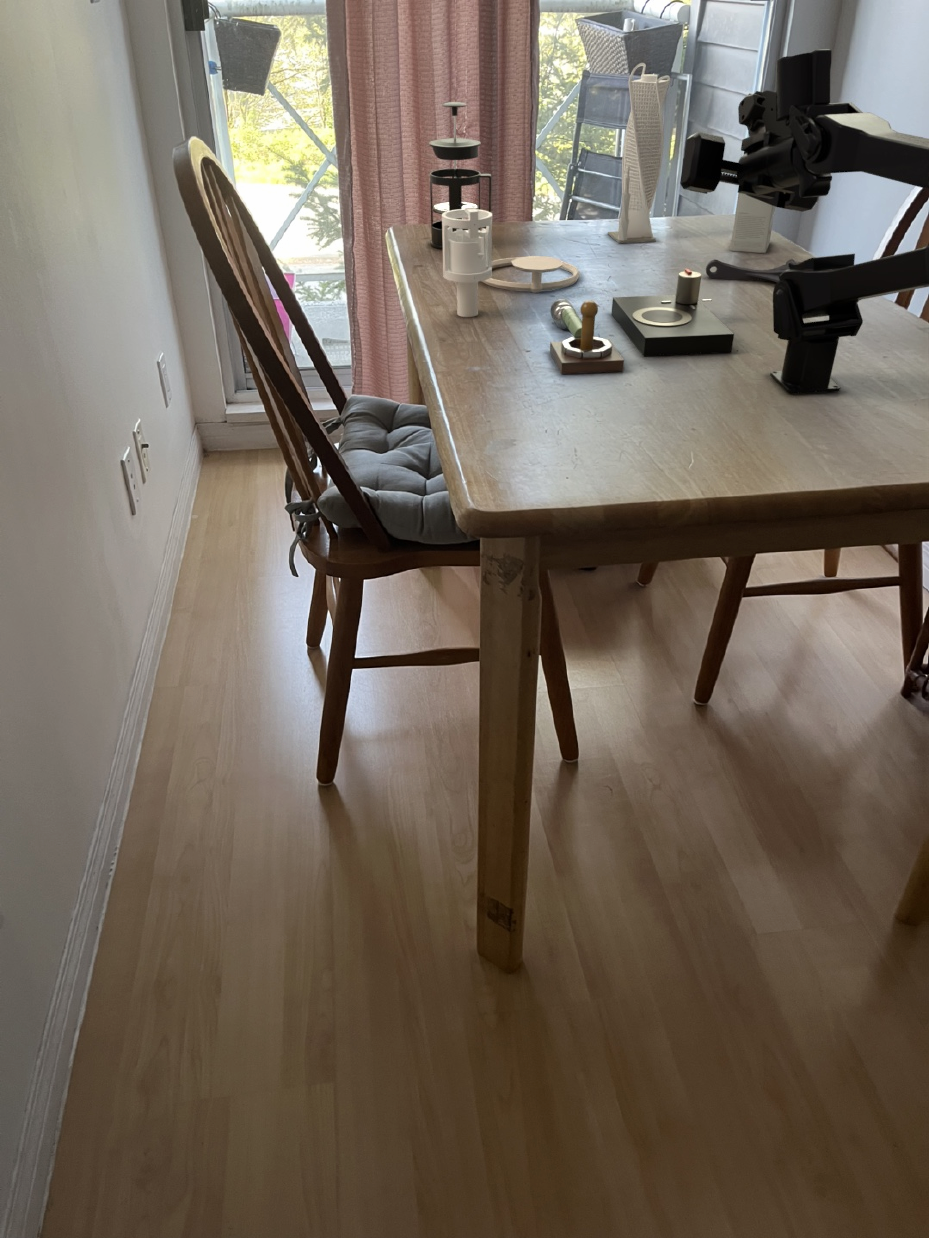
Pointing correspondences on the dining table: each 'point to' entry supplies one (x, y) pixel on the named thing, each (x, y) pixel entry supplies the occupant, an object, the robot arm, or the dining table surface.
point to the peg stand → (577, 365)
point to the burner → (662, 316)
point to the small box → (752, 225)
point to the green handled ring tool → (576, 332)
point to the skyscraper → (641, 157)
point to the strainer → (467, 254)
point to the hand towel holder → (534, 273)
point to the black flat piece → (745, 272)
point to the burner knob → (688, 287)
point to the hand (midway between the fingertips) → (717, 185)
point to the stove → (672, 328)
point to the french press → (454, 176)
